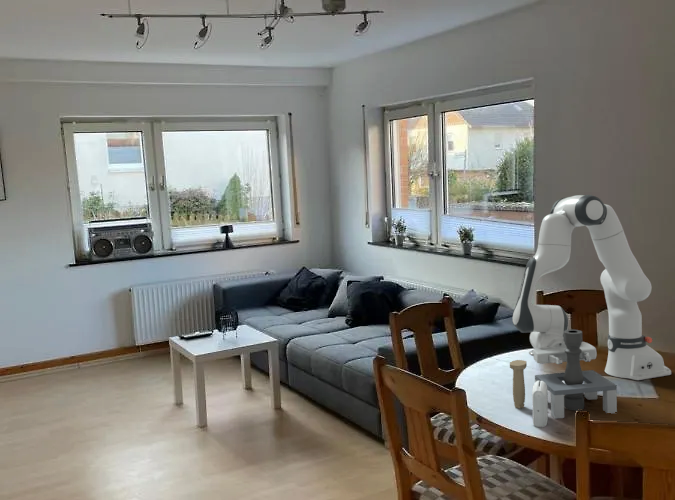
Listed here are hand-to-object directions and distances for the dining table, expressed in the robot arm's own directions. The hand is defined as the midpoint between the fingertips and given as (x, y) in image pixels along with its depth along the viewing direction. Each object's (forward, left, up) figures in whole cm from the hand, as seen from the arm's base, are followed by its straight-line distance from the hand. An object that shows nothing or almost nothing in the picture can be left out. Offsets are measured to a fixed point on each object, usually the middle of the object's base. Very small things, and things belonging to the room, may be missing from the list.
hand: (574, 360), depth 214 cm
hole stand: (0, 0, -15) cm, 16 cm away
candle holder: (0, 0, -16) cm, 16 cm away
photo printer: (+15, +9, -16) cm, 23 cm away
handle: (+17, -4, -16) cm, 24 cm away
